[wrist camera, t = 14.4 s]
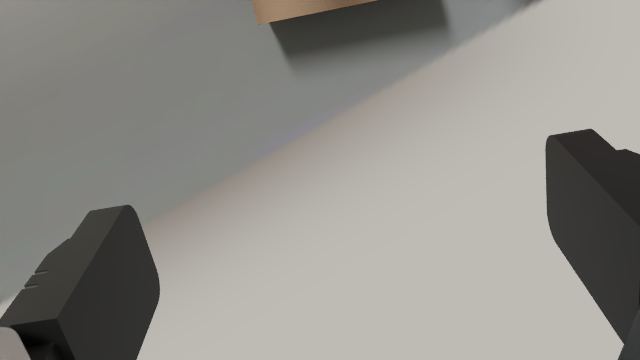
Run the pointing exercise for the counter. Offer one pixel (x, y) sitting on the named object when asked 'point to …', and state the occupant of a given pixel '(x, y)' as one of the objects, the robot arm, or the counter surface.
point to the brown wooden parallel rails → (296, 8)
